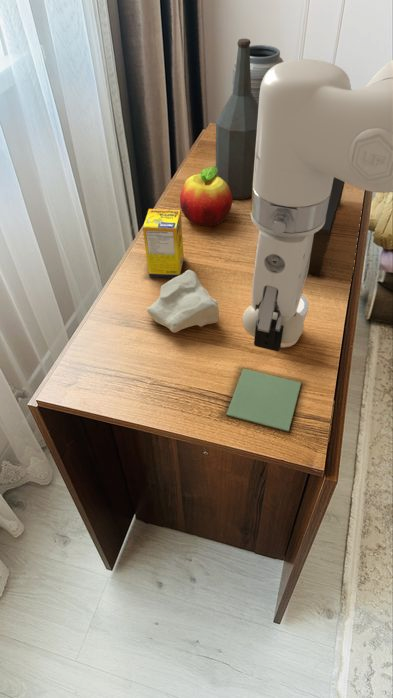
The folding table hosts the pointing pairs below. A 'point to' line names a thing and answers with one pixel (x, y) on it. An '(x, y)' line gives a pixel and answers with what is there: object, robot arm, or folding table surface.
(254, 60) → the vase
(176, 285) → the decorative stone
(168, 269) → the supplement box
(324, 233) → the long dark rectangular box
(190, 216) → the fruit
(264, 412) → the mat
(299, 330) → the cream rounded oblong block
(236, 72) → the bottle
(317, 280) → the folding table surface
